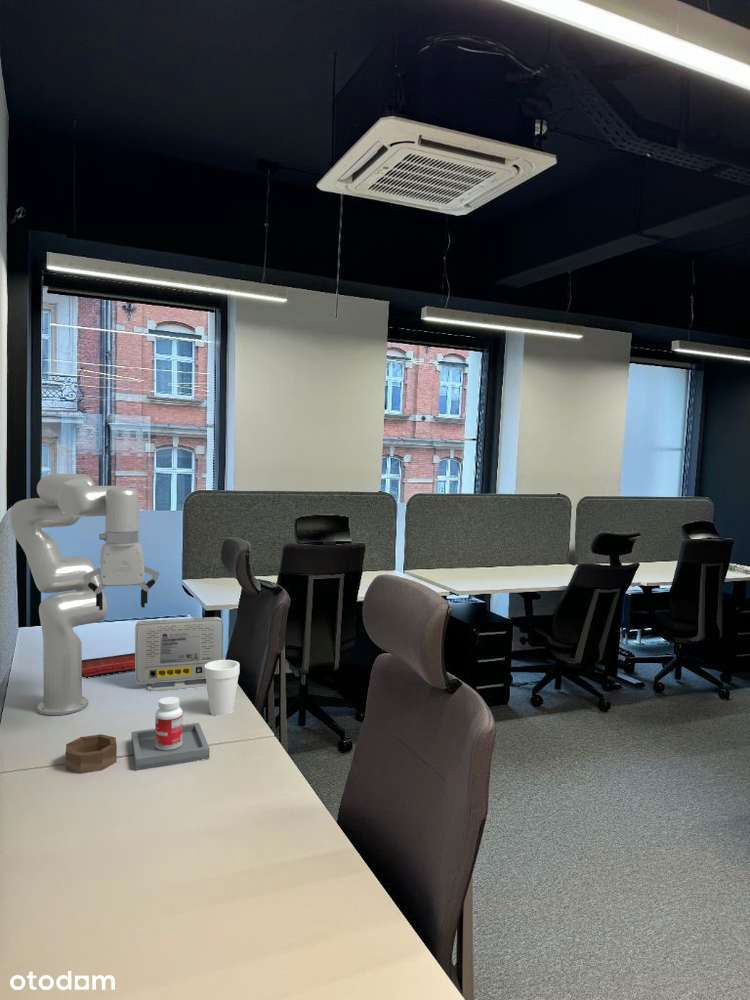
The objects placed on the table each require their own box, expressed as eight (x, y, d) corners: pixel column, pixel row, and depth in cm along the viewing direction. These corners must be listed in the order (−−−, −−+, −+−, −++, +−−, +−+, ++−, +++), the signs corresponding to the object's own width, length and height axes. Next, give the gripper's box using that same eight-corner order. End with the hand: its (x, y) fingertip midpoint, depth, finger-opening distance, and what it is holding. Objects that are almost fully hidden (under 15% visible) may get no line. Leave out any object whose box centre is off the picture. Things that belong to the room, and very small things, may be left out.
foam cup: (230, 719, 175) (230, 671, 174) (198, 716, 177) (198, 668, 176) (244, 706, 184) (244, 661, 183) (213, 703, 186) (214, 658, 185)
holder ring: (66, 755, 152) (66, 738, 151) (115, 748, 156) (115, 732, 155) (65, 775, 142) (65, 757, 142) (117, 767, 146) (117, 750, 146)
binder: (74, 659, 217) (140, 651, 229) (74, 666, 217) (139, 657, 229) (82, 675, 204) (152, 665, 215) (82, 682, 204) (151, 672, 216)
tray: (131, 741, 160) (131, 731, 160) (198, 732, 166) (198, 722, 166) (135, 770, 145) (135, 759, 145) (209, 758, 152) (209, 748, 151)
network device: (220, 677, 209) (221, 615, 208) (223, 686, 201) (224, 621, 200) (135, 683, 201) (135, 619, 200) (134, 693, 193) (134, 626, 192)
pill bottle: (150, 746, 155) (150, 700, 155) (172, 738, 160) (173, 693, 159) (164, 753, 151) (164, 707, 151) (187, 745, 156) (187, 699, 155)
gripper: (83, 541, 153) (83, 613, 154) (160, 539, 160) (160, 608, 161) (83, 537, 160) (83, 607, 161) (157, 535, 167) (157, 602, 168)
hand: (122, 607), depth 161 cm, fingers open, 9 cm apart
